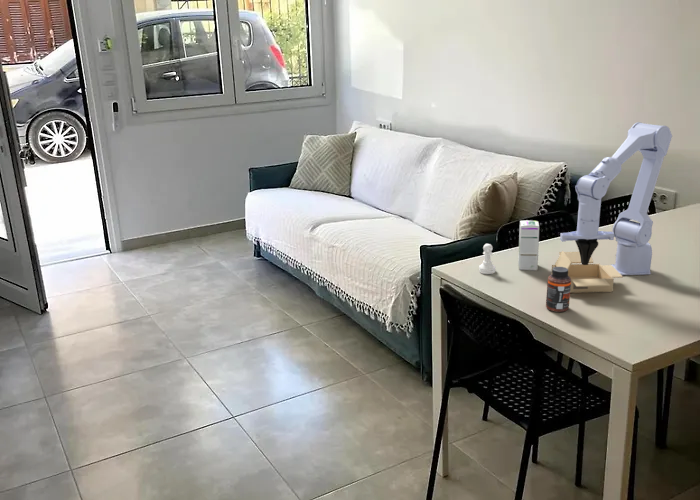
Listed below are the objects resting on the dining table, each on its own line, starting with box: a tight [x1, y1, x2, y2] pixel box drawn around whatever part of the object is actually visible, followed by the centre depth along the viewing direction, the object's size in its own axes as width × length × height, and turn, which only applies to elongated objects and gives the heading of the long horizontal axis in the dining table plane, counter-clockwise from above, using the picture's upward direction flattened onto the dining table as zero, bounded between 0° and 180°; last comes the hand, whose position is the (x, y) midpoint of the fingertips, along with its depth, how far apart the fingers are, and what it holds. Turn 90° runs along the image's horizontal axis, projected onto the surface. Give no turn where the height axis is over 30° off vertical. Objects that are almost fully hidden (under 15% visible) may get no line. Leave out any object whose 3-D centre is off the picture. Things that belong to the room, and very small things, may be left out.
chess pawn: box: [478, 243, 496, 275], centre depth 201 cm, size 5×5×9 cm
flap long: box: [554, 250, 573, 269], centre depth 188 cm, size 1×9×4 cm, turn 179°
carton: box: [550, 263, 624, 294], centre depth 188 cm, size 17×16×4 cm
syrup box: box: [517, 219, 540, 271], centre depth 203 cm, size 6×6×14 cm
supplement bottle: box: [545, 267, 571, 313], centre depth 174 cm, size 6×6×11 cm
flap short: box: [558, 251, 594, 264], centre depth 196 cm, size 9×1×4 cm
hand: (584, 263), depth 188 cm, fingers closed
